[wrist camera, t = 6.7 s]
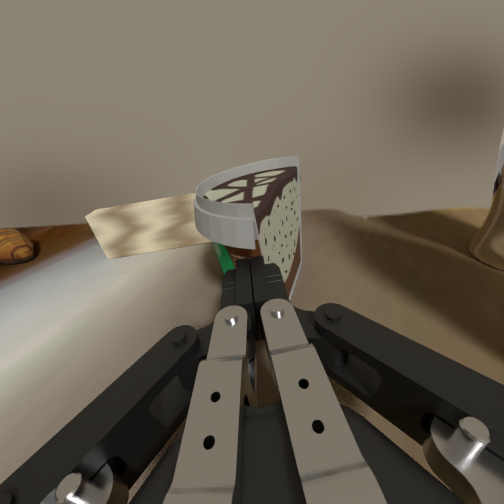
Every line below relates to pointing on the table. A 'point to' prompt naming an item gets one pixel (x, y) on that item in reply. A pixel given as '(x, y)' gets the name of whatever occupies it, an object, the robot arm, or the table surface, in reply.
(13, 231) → the croissant
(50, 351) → the table surface
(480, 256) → the beer glass
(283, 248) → the food container
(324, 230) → the table surface
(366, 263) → the table surface
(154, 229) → the maple board
